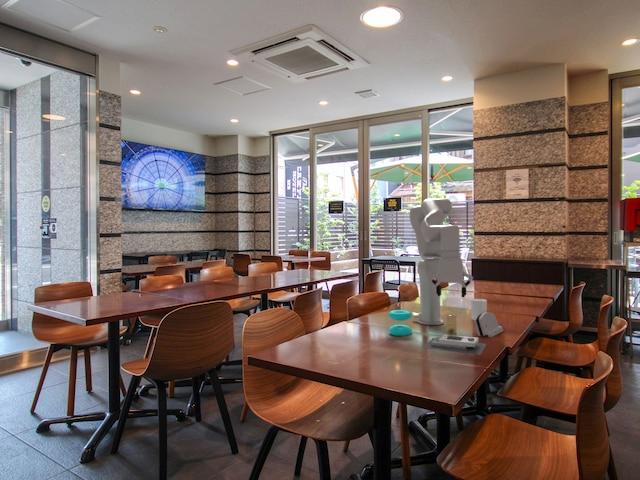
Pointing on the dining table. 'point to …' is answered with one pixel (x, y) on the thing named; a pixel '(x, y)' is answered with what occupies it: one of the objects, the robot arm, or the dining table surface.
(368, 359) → the dining table surface
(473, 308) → the white cup
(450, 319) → the brass pin
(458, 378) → the dining table surface
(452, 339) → the grey block with hole
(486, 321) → the white slotted device
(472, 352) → the mat
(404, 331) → the donuts
